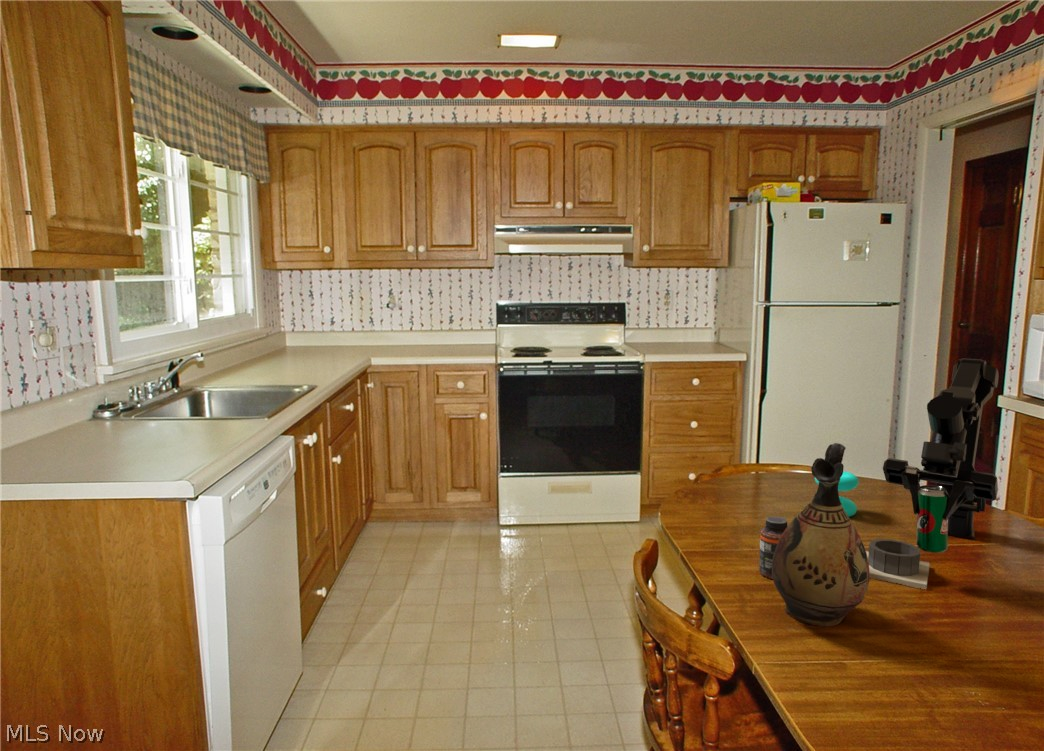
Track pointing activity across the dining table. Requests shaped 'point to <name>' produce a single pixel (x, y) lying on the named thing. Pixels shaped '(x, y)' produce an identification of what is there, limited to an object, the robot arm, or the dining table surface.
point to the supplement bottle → (770, 543)
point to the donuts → (845, 484)
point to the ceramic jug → (822, 553)
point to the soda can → (932, 519)
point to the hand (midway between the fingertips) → (929, 516)
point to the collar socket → (897, 563)
